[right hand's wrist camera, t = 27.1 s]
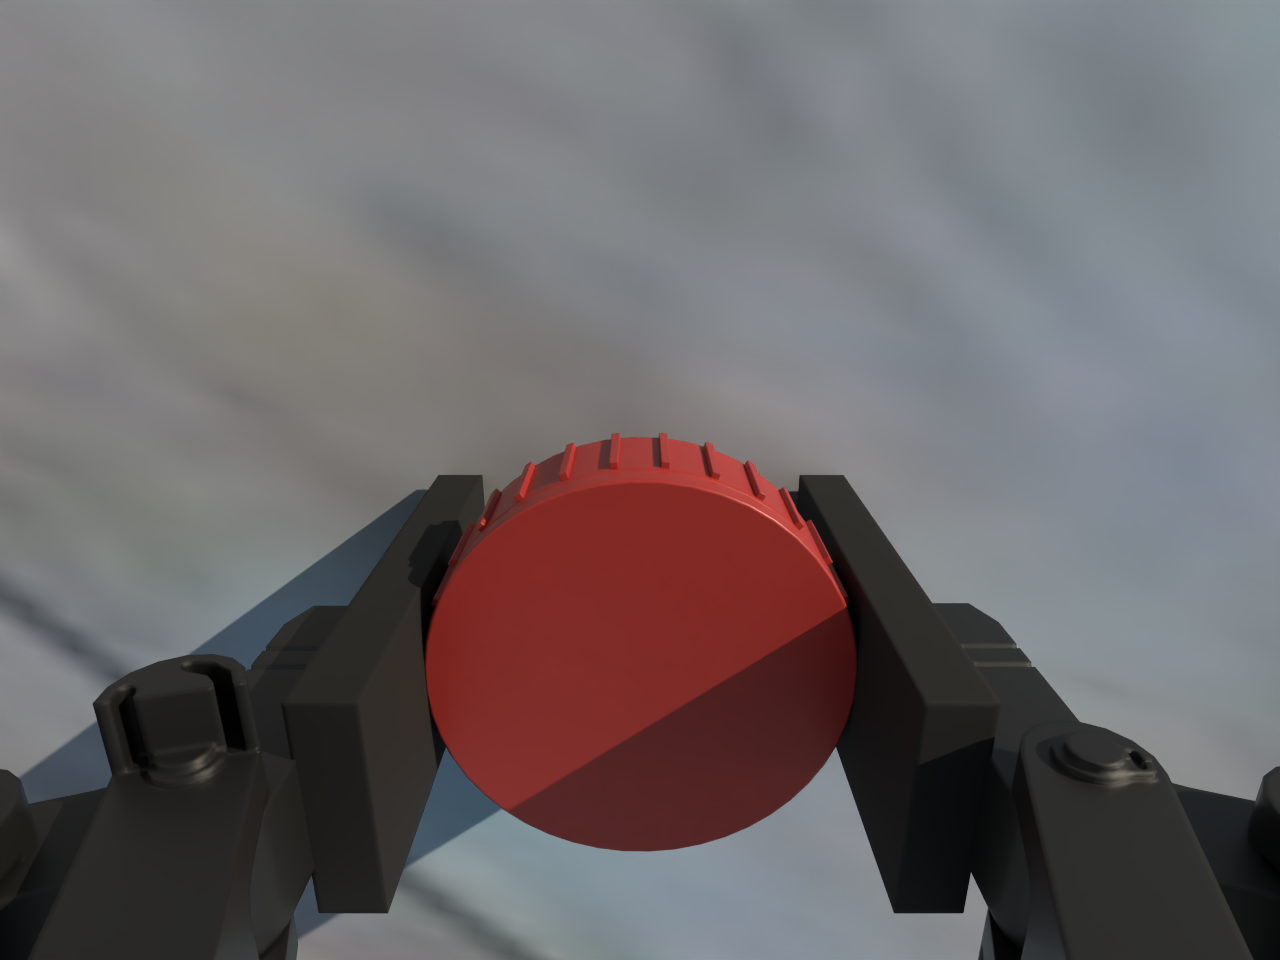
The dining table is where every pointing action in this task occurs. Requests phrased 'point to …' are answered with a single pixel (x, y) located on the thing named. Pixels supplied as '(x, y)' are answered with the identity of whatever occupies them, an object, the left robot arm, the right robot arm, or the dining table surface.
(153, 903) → the right robot arm
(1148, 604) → the dining table surface
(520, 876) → the dining table surface
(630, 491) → the lid
